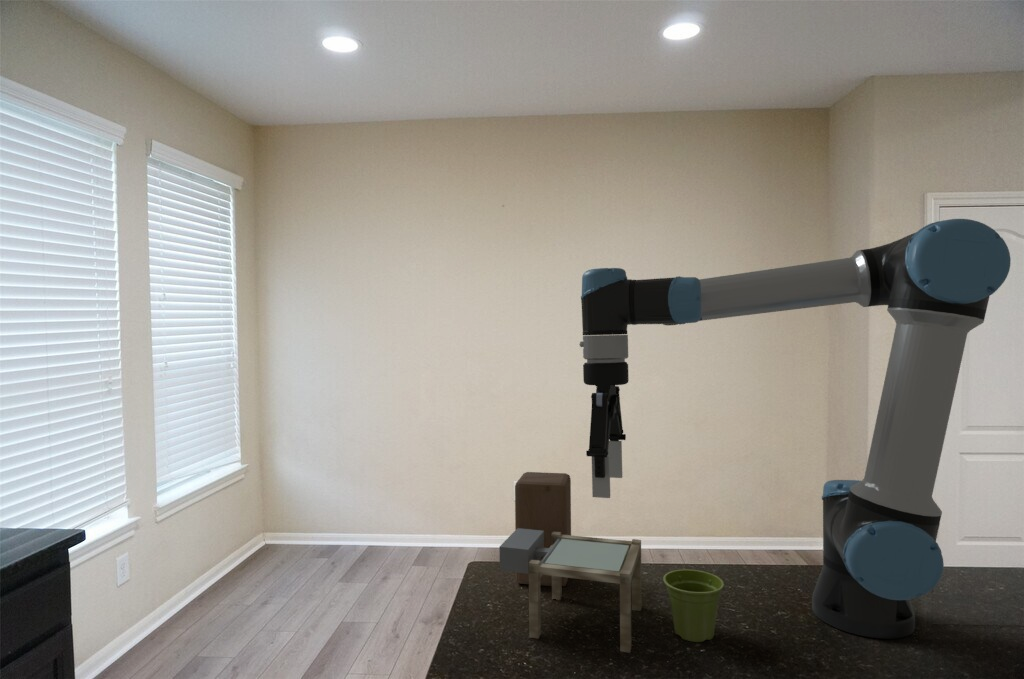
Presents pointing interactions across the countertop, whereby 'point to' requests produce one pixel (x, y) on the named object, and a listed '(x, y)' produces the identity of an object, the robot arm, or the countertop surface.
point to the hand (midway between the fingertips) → (608, 486)
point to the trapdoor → (559, 553)
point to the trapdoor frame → (623, 578)
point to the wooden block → (543, 510)
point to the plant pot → (693, 602)
